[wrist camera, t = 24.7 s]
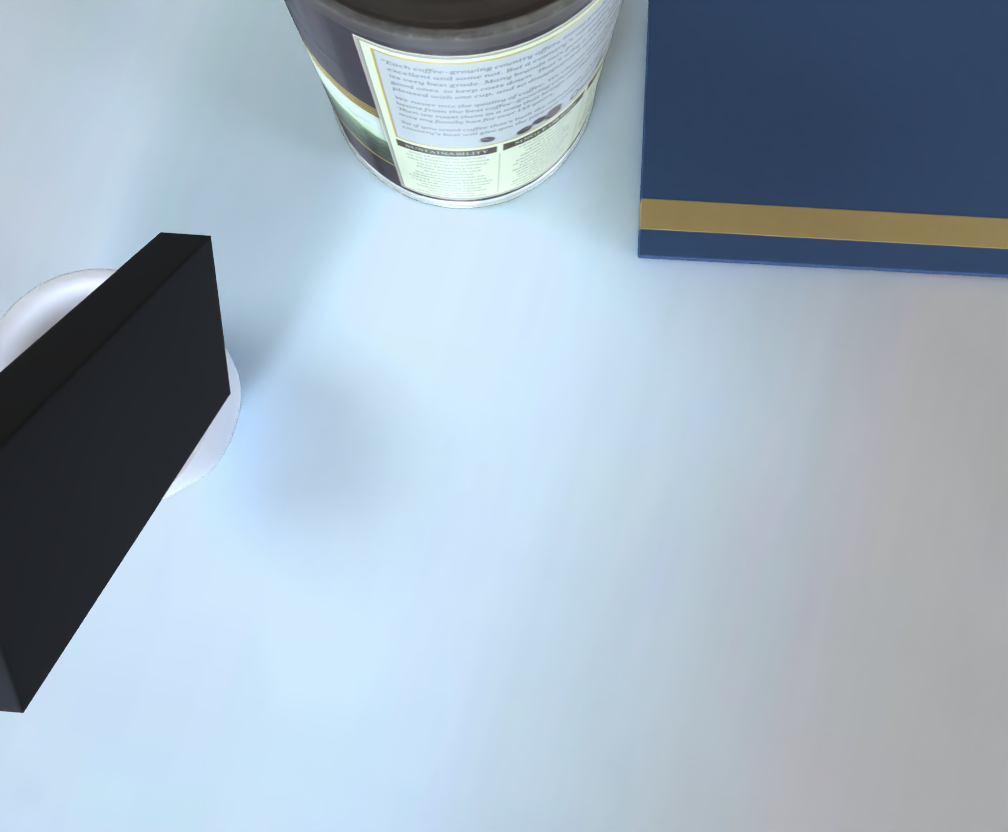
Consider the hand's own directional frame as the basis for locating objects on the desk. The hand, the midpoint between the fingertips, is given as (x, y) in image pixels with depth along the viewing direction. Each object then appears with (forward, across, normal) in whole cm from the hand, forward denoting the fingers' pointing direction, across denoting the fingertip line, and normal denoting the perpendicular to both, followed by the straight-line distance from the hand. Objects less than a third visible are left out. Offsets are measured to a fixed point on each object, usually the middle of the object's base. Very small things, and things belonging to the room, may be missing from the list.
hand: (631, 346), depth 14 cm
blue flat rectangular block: (+24, +12, -1) cm, 27 cm away
